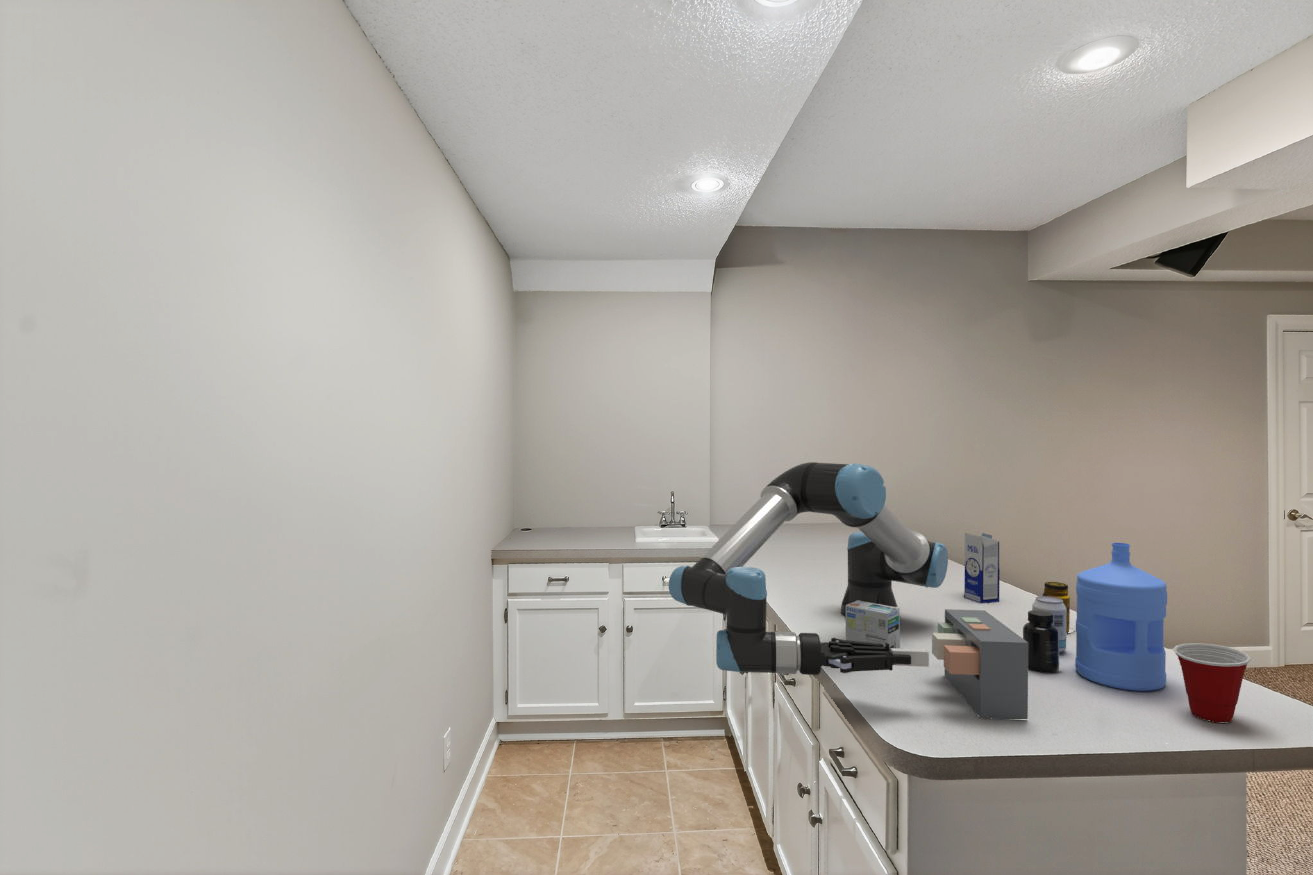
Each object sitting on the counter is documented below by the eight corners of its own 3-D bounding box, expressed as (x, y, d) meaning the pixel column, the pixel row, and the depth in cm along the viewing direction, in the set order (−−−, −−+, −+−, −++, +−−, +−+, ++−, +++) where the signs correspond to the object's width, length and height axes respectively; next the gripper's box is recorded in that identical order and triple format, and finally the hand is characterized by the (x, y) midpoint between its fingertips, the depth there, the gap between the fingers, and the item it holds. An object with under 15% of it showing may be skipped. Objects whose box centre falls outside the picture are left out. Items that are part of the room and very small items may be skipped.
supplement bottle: (1055, 664, 149) (1055, 610, 149) (1062, 675, 143) (1063, 618, 143) (1020, 660, 152) (1020, 607, 151) (1025, 671, 145) (1026, 615, 145)
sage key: (943, 647, 138) (943, 627, 138) (937, 641, 142) (938, 622, 142) (979, 648, 137) (979, 628, 137) (972, 642, 141) (973, 623, 141)
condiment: (1076, 631, 173) (1077, 584, 173) (1059, 637, 168) (1060, 589, 168) (1047, 624, 179) (1047, 579, 179) (1030, 629, 174) (1030, 583, 174)
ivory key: (937, 659, 131) (937, 638, 131) (931, 652, 135) (932, 632, 135) (975, 660, 130) (975, 640, 130) (968, 654, 134) (968, 634, 134)
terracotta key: (950, 673, 123) (950, 652, 123) (943, 666, 127) (943, 645, 127) (990, 675, 123) (990, 653, 123) (982, 667, 126) (982, 646, 126)
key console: (980, 718, 122) (981, 639, 122) (944, 675, 143) (944, 607, 143) (1027, 720, 121) (1028, 641, 121) (984, 676, 142) (984, 608, 142)
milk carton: (963, 597, 206) (964, 532, 206) (981, 595, 208) (982, 531, 208) (981, 603, 199) (982, 535, 199) (999, 601, 201) (1000, 534, 201)
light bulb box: (900, 653, 157) (900, 606, 157) (888, 660, 152) (888, 613, 152) (857, 643, 164) (857, 598, 164) (844, 650, 159) (844, 604, 159)
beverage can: (1064, 647, 160) (1064, 597, 160) (1067, 657, 154) (1068, 604, 154) (1030, 643, 163) (1031, 594, 163) (1033, 652, 157) (1033, 601, 156)
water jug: (1059, 664, 149) (1061, 537, 149) (1132, 664, 149) (1134, 537, 148) (1104, 692, 134) (1106, 550, 133) (1185, 693, 133) (1187, 551, 133)
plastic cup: (1157, 705, 127) (1158, 642, 127) (1210, 703, 128) (1211, 640, 128) (1209, 731, 117) (1210, 662, 116) (1266, 729, 118) (1268, 660, 117)
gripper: (794, 660, 135) (917, 665, 132) (801, 686, 122) (937, 691, 119) (795, 623, 135) (918, 627, 132) (801, 644, 122) (938, 649, 119)
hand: (927, 657), depth 126 cm, fingers closed
